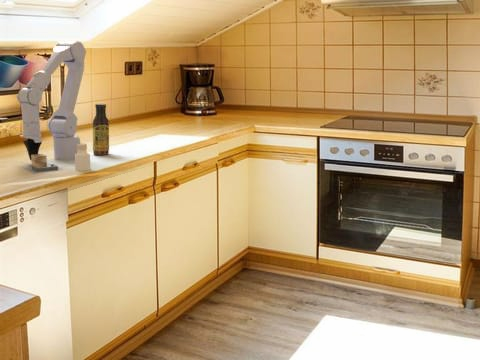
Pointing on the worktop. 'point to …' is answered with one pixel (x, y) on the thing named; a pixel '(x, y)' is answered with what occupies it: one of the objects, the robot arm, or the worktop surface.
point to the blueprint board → (49, 168)
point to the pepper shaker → (82, 158)
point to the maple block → (39, 160)
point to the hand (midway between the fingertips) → (33, 160)
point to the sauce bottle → (100, 131)
